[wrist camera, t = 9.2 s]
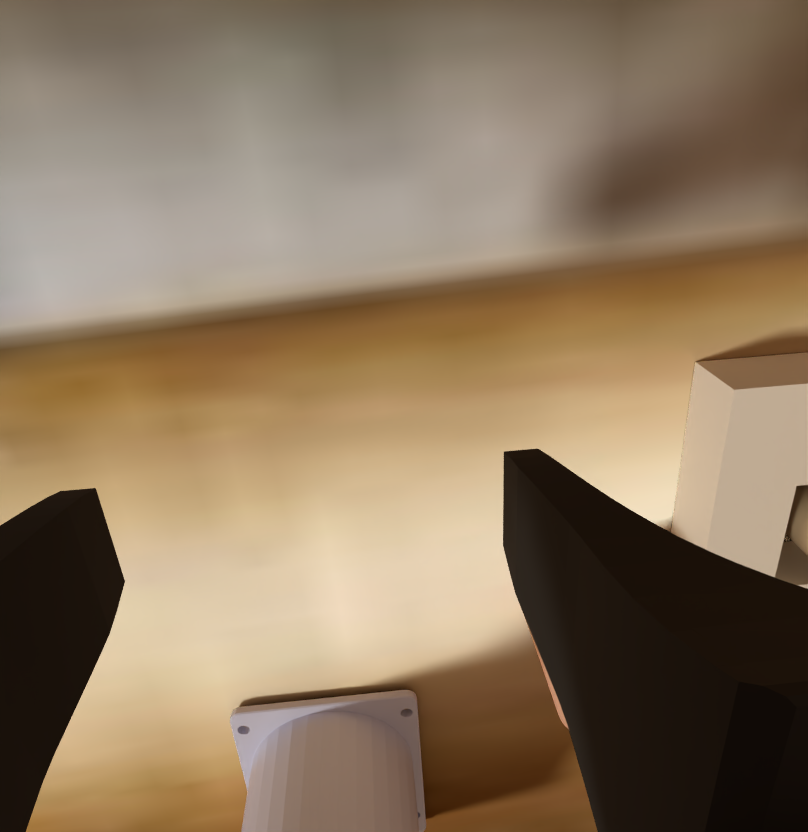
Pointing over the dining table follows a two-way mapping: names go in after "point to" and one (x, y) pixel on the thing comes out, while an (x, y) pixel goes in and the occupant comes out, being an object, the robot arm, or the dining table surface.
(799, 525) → the beech pin
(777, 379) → the hole plate
